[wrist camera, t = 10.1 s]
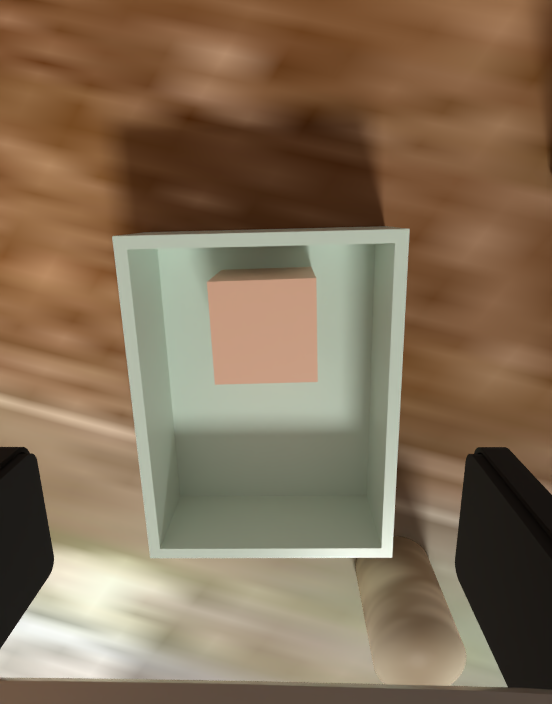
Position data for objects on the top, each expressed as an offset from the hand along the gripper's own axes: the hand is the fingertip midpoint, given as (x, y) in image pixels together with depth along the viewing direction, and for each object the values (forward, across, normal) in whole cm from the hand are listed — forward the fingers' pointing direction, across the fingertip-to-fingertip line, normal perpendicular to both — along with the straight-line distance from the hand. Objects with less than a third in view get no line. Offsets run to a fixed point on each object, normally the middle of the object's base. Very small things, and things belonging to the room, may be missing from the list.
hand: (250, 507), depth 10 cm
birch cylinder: (+18, -8, +17) cm, 26 cm away
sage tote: (+18, 0, +3) cm, 18 cm away
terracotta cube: (+18, 0, -1) cm, 18 cm away
